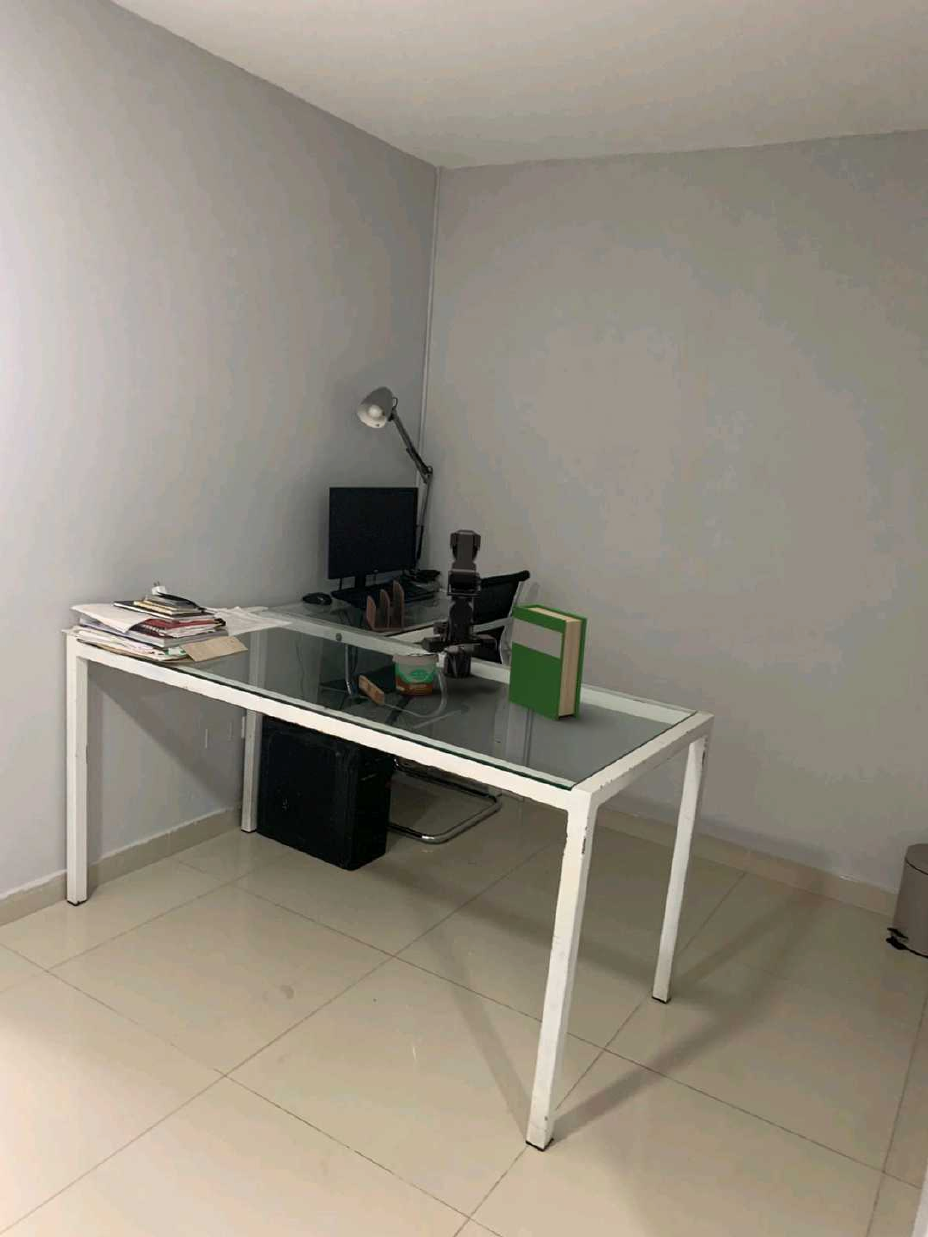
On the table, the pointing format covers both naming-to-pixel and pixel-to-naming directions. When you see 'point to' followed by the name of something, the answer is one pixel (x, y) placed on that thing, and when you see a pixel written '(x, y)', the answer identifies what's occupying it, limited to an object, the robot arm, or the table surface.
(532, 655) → the hardback book
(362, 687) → the rail
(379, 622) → the letter holder
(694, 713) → the table surface
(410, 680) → the food container
